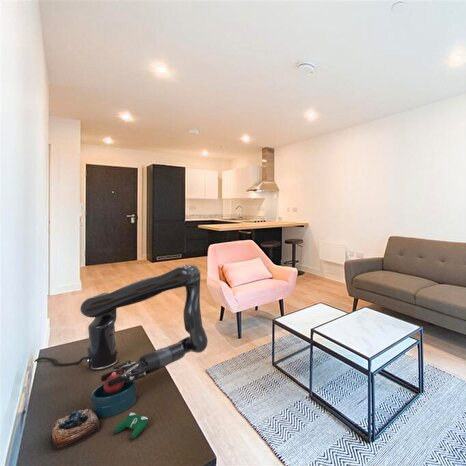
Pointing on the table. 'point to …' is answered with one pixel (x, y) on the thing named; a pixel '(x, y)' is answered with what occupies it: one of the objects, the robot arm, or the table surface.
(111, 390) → the onion
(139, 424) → the gaming controller
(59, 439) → the pastry
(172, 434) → the table surface
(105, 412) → the pot
